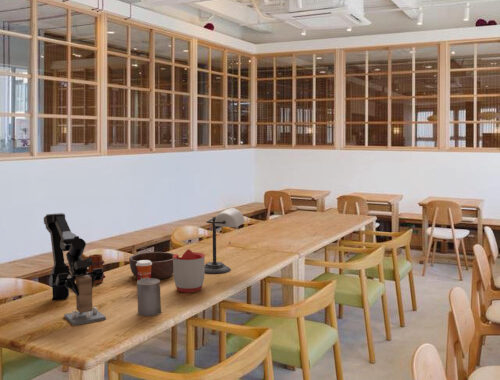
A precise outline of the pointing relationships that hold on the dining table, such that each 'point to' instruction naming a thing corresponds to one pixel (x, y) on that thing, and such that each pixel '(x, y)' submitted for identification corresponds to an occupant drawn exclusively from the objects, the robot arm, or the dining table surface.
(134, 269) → the wooden bowl
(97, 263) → the mug
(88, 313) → the peg nest
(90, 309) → the walnut post
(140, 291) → the pillar candle
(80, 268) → the robot arm
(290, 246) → the dining table surface
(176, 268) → the citrus juicer
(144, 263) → the paper cup
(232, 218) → the lamp
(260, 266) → the dining table surface
